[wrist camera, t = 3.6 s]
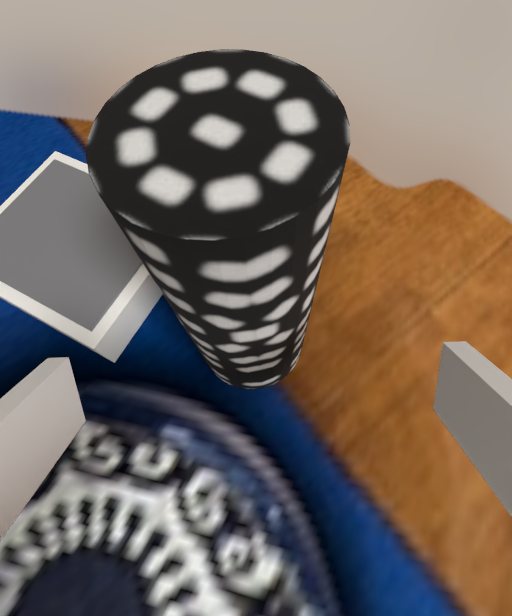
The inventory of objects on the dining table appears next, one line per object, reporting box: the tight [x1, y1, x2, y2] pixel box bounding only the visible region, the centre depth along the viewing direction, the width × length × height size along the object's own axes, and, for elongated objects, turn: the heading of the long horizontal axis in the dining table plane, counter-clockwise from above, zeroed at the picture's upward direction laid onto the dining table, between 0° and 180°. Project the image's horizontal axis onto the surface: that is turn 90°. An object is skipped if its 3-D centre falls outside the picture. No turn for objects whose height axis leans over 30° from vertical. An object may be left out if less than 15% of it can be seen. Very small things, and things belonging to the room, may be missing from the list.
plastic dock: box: [0, 151, 162, 363], centre depth 32 cm, size 16×14×4 cm
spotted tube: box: [86, 50, 350, 389], centre depth 20 cm, size 8×8×20 cm
